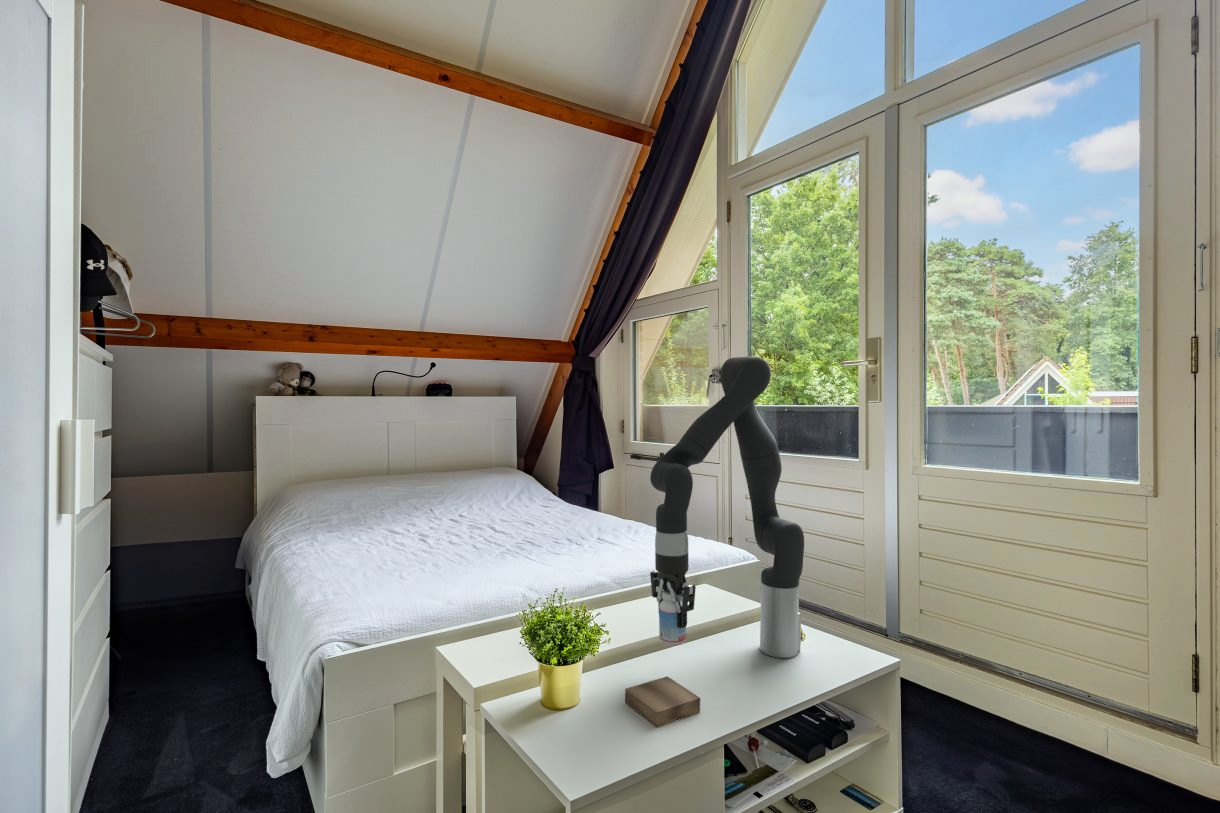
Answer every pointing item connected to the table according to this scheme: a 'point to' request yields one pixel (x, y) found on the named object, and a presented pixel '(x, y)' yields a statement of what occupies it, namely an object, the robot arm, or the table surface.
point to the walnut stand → (662, 701)
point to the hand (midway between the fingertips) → (672, 622)
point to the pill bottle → (670, 622)
